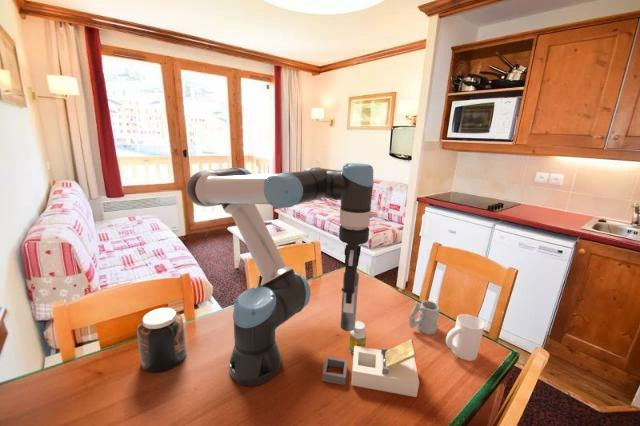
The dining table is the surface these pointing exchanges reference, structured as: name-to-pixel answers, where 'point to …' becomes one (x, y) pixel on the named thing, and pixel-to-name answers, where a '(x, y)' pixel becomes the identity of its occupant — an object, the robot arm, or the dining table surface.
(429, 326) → the mug
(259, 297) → the robot arm
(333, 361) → the stand collar
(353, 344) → the supplement bottle
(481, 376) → the dining table surface
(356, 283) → the steel pin
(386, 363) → the brass flap
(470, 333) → the mug
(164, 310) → the jar
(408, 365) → the socket block
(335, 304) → the dining table surface
